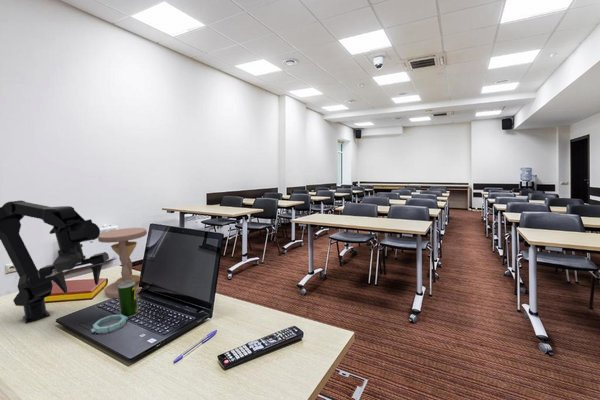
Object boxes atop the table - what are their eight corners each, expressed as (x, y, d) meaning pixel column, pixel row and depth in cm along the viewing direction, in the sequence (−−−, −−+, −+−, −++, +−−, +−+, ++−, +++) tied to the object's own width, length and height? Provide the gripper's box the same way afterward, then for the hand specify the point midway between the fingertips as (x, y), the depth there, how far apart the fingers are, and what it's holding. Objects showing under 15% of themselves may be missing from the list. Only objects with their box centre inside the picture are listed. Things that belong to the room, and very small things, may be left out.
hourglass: (114, 284, 134) (107, 229, 131) (156, 279, 138) (150, 226, 135) (97, 301, 117) (89, 239, 114) (146, 294, 121) (139, 234, 118)
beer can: (121, 320, 101) (117, 286, 99) (120, 314, 105) (116, 281, 104) (139, 315, 104) (135, 282, 102) (137, 309, 108) (134, 278, 107)
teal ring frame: (87, 328, 96) (87, 323, 96) (122, 315, 104) (121, 311, 104) (96, 338, 91) (96, 332, 90) (132, 324, 98) (132, 318, 98)
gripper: (21, 256, 89) (35, 306, 91) (91, 241, 94) (104, 288, 96) (41, 249, 100) (54, 293, 101) (104, 236, 105) (115, 278, 107)
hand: (81, 288), depth 101 cm, fingers open, 9 cm apart
